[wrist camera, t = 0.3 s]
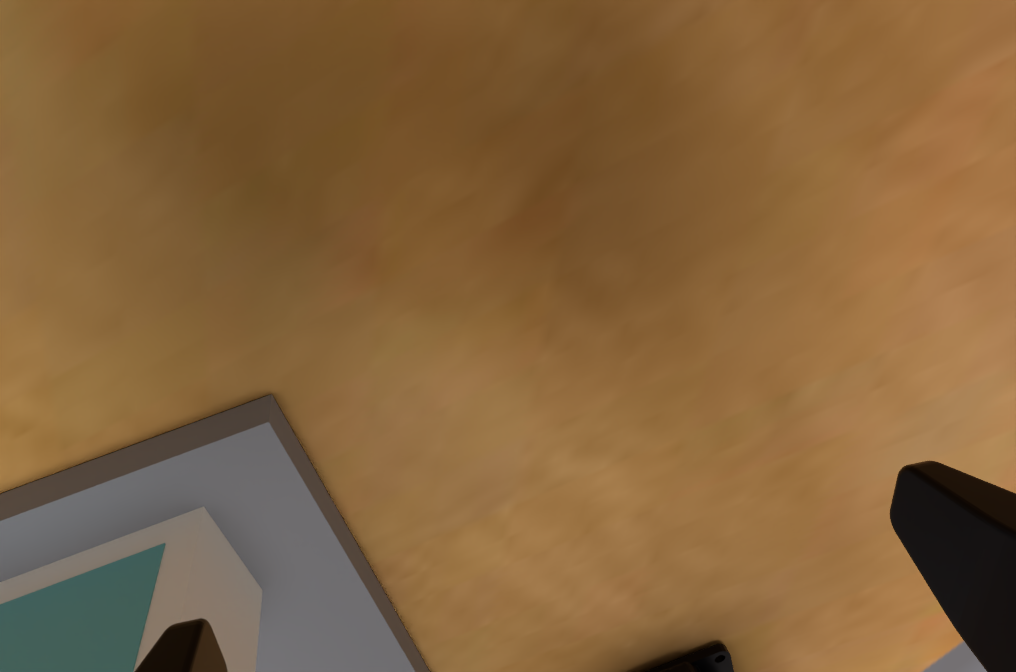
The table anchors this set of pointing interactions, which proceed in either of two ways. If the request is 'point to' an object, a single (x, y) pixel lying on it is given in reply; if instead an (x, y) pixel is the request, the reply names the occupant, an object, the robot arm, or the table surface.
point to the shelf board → (228, 533)
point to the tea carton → (131, 601)
